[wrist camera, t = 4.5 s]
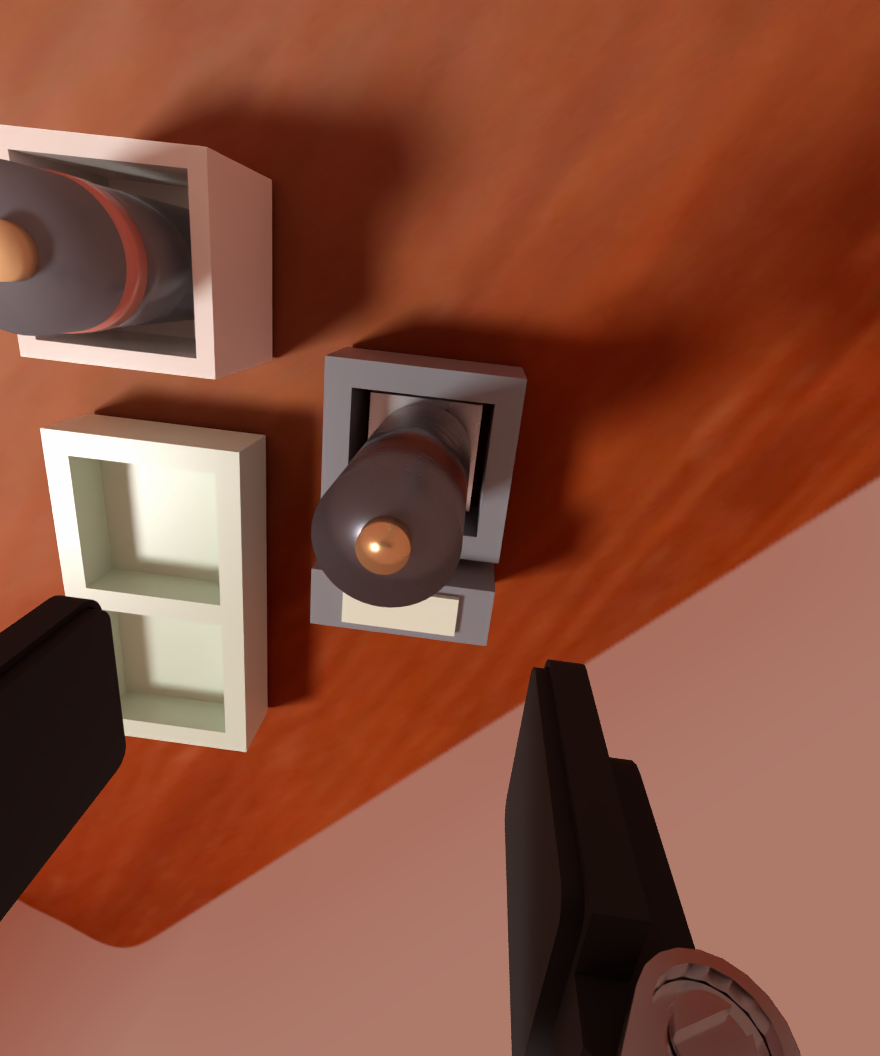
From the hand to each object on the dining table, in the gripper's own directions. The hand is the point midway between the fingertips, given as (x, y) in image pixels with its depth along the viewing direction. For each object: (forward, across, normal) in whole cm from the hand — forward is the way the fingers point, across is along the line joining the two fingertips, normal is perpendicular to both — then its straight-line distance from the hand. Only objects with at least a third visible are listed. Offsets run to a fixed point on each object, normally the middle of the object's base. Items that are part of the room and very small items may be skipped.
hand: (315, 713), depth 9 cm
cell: (+16, 0, 0) cm, 16 cm away
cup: (+18, +10, -6) cm, 21 cm away
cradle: (+18, 0, +1) cm, 18 cm away
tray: (+18, +11, +8) cm, 22 cm away
